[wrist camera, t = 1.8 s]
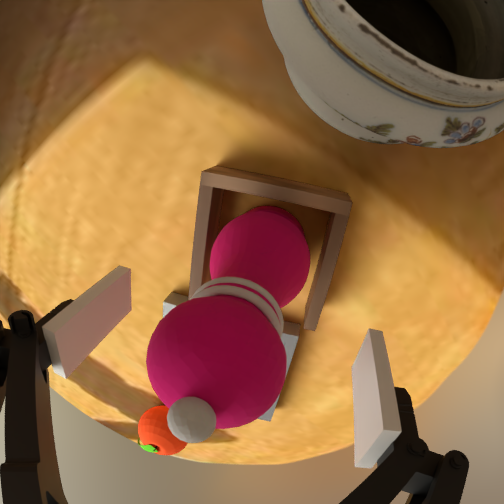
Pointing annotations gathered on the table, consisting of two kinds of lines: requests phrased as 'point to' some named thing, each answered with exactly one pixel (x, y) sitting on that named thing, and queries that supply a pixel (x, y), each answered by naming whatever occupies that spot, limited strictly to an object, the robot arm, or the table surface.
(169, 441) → the clementine
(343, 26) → the apothecary jar
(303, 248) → the pepper mill
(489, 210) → the table surface
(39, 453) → the robot arm
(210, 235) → the cubby
